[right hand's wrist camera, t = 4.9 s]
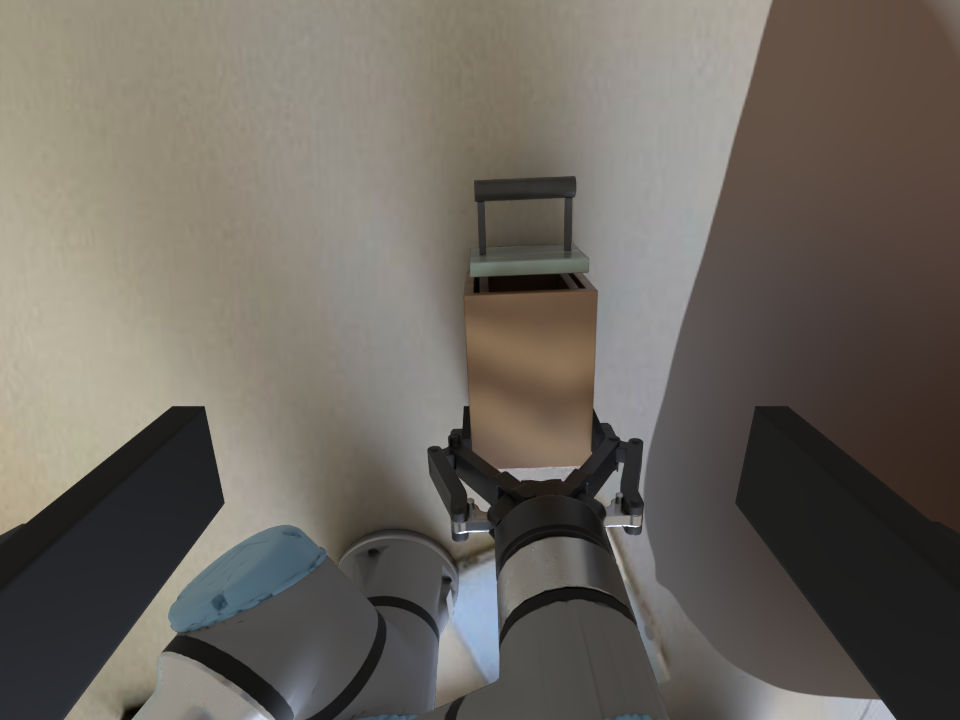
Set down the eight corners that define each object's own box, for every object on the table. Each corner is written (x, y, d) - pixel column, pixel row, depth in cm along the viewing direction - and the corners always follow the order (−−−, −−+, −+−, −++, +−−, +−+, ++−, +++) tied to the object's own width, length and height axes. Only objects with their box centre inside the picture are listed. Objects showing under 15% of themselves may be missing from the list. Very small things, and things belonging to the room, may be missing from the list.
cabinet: (466, 272, 52) (463, 295, 43) (577, 267, 52) (597, 290, 43) (473, 422, 58) (472, 470, 49) (573, 418, 58) (590, 466, 49)
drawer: (467, 179, 48) (465, 182, 41) (574, 174, 48) (592, 177, 41) (477, 396, 56) (477, 431, 49) (570, 392, 56) (583, 427, 49)
